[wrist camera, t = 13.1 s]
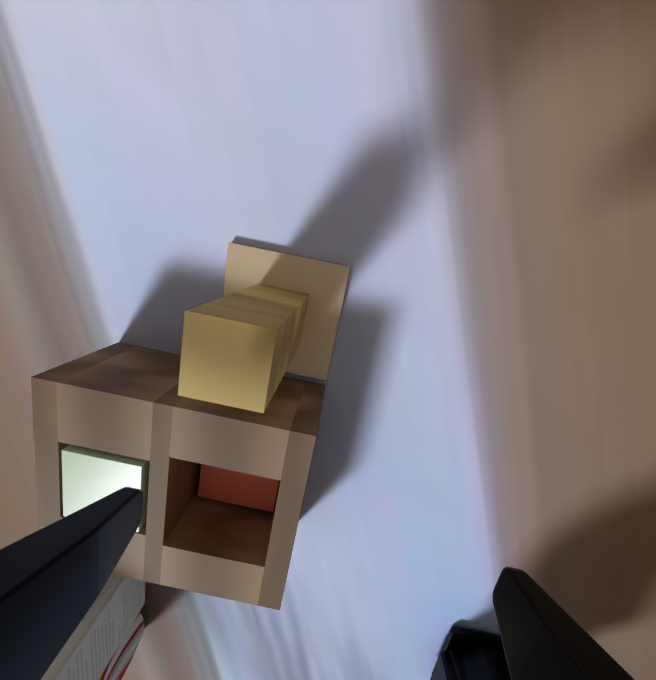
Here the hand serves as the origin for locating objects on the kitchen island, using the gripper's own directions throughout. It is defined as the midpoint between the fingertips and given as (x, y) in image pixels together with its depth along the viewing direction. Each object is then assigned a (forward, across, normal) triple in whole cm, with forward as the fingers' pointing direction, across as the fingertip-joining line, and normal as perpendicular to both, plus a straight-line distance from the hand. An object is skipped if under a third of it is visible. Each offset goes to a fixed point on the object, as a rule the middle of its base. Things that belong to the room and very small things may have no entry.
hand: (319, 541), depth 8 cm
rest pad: (+13, +4, -2) cm, 14 cm away
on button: (+10, +11, +7) cm, 16 cm away
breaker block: (+13, +7, +7) cm, 16 cm away
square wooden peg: (+13, +4, -2) cm, 13 cm away
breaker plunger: (+12, +5, +7) cm, 15 cm away
